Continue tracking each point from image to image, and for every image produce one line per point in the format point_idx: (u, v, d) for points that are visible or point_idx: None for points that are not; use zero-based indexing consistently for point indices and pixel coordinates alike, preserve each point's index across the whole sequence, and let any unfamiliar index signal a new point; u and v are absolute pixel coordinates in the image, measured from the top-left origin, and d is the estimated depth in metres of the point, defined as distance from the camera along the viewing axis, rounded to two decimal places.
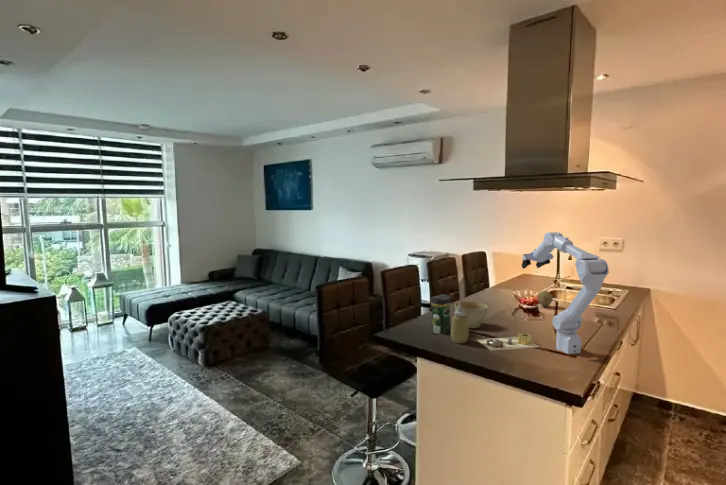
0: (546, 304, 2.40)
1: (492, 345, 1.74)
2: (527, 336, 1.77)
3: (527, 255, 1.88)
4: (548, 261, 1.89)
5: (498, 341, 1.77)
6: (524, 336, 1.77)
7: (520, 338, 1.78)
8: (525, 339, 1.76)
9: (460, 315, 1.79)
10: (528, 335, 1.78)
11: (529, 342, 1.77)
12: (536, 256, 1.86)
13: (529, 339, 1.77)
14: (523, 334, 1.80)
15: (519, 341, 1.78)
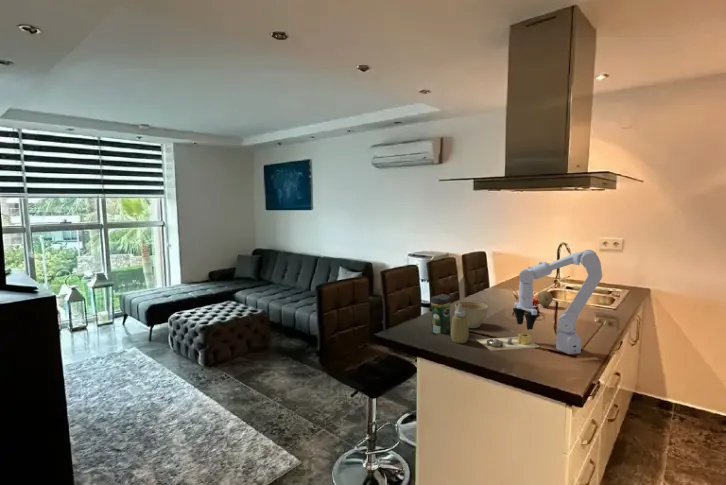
0: (546, 304, 2.40)
1: (492, 345, 1.74)
2: (527, 336, 1.77)
3: None
4: None
5: (498, 341, 1.77)
6: (524, 336, 1.77)
7: (520, 338, 1.78)
8: (525, 339, 1.76)
9: (460, 315, 1.79)
10: (528, 335, 1.78)
11: (529, 342, 1.77)
12: (531, 304, 1.75)
13: (529, 339, 1.77)
14: (523, 334, 1.80)
15: (519, 341, 1.78)
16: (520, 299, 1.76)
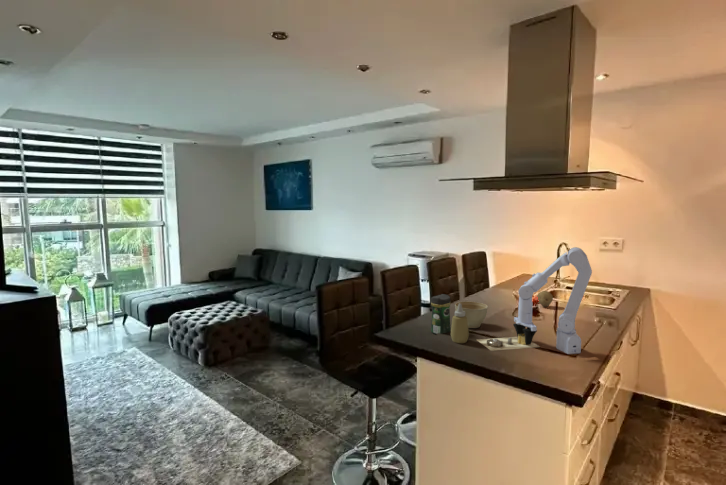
0: (546, 304, 2.40)
1: (492, 345, 1.74)
2: None
3: (530, 326, 1.73)
4: None
5: (498, 341, 1.77)
6: (524, 336, 1.77)
7: (520, 338, 1.78)
8: None
9: (460, 315, 1.79)
10: None
11: None
12: (530, 319, 1.75)
13: None
14: (523, 334, 1.80)
15: (519, 341, 1.78)
16: (520, 315, 1.77)
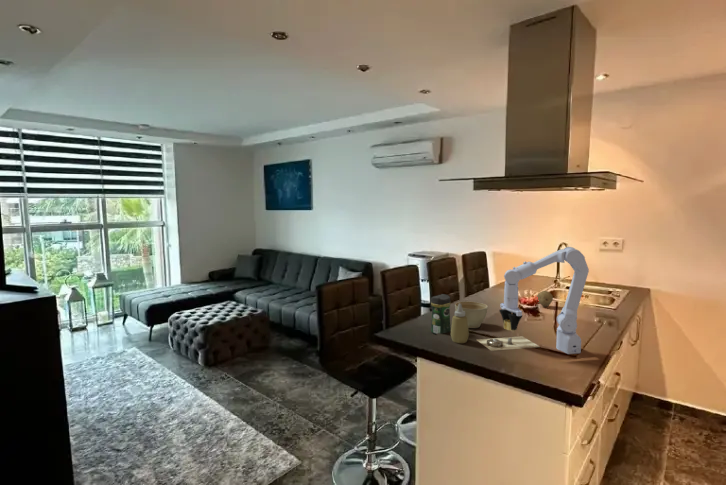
0: (546, 304, 2.40)
1: (492, 345, 1.74)
2: None
3: None
4: None
5: (498, 341, 1.77)
6: None
7: (506, 324, 1.76)
8: None
9: (460, 315, 1.79)
10: None
11: None
12: (516, 305, 1.74)
13: None
14: (509, 320, 1.78)
15: (505, 327, 1.76)
16: (505, 300, 1.75)
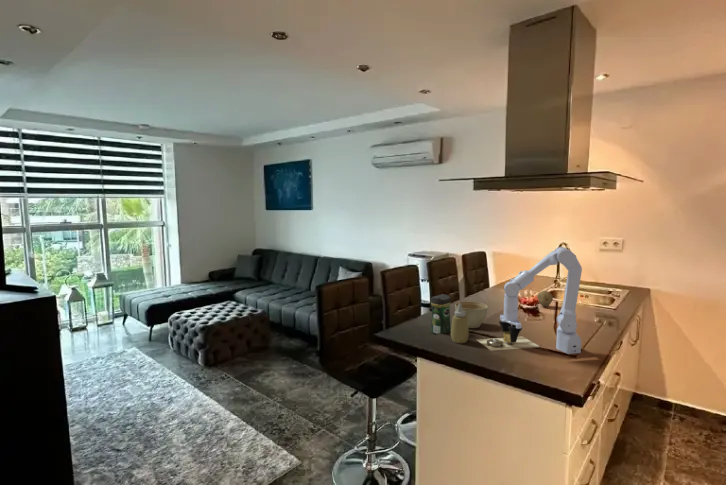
0: (546, 304, 2.40)
1: (492, 345, 1.74)
2: None
3: None
4: None
5: (498, 341, 1.77)
6: (509, 334, 1.75)
7: (505, 336, 1.76)
8: None
9: (460, 315, 1.79)
10: None
11: None
12: (516, 317, 1.74)
13: None
14: (509, 332, 1.79)
15: (505, 339, 1.77)
16: (505, 312, 1.75)
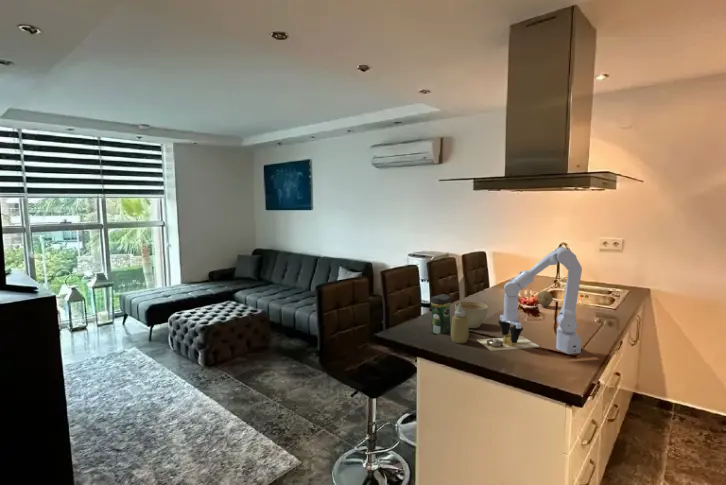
0: (546, 304, 2.40)
1: (492, 345, 1.74)
2: None
3: None
4: None
5: (498, 341, 1.77)
6: (509, 337, 1.76)
7: (505, 339, 1.76)
8: (510, 340, 1.75)
9: (460, 315, 1.79)
10: None
11: (514, 343, 1.76)
12: (516, 317, 1.74)
13: None
14: (509, 335, 1.79)
15: (505, 342, 1.77)
16: (505, 312, 1.75)
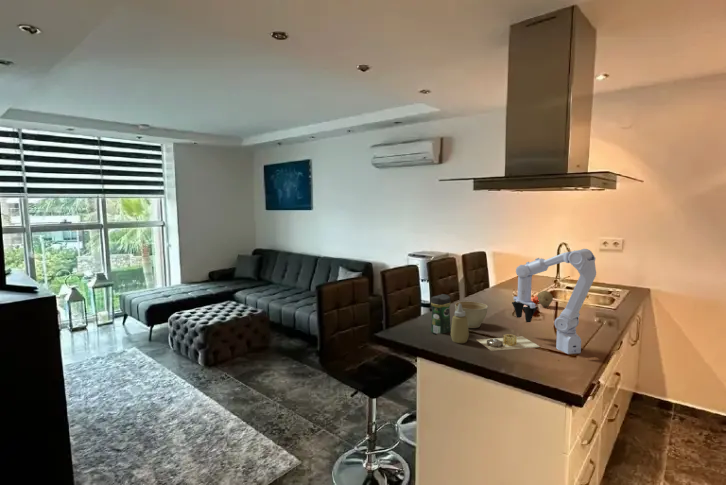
0: (546, 304, 2.40)
1: (492, 345, 1.74)
2: (512, 337, 1.76)
3: None
4: None
5: (498, 341, 1.77)
6: (509, 337, 1.76)
7: (505, 339, 1.76)
8: (510, 340, 1.75)
9: (460, 315, 1.79)
10: (513, 336, 1.77)
11: (514, 343, 1.76)
12: (529, 298, 1.82)
13: (514, 340, 1.76)
14: (509, 335, 1.79)
15: (505, 342, 1.77)
16: (519, 293, 1.83)
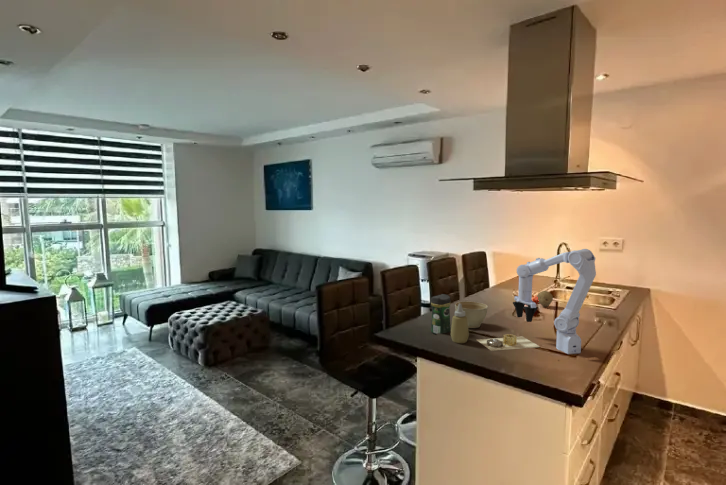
0: (546, 304, 2.40)
1: (492, 345, 1.74)
2: (512, 337, 1.76)
3: None
4: None
5: (498, 341, 1.77)
6: (509, 337, 1.76)
7: (505, 339, 1.76)
8: (510, 340, 1.75)
9: (460, 315, 1.79)
10: (513, 336, 1.77)
11: (514, 343, 1.76)
12: (530, 297, 1.82)
13: (514, 340, 1.76)
14: (509, 335, 1.79)
15: (505, 342, 1.77)
16: (520, 293, 1.83)
